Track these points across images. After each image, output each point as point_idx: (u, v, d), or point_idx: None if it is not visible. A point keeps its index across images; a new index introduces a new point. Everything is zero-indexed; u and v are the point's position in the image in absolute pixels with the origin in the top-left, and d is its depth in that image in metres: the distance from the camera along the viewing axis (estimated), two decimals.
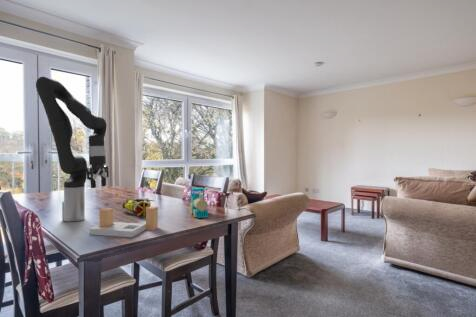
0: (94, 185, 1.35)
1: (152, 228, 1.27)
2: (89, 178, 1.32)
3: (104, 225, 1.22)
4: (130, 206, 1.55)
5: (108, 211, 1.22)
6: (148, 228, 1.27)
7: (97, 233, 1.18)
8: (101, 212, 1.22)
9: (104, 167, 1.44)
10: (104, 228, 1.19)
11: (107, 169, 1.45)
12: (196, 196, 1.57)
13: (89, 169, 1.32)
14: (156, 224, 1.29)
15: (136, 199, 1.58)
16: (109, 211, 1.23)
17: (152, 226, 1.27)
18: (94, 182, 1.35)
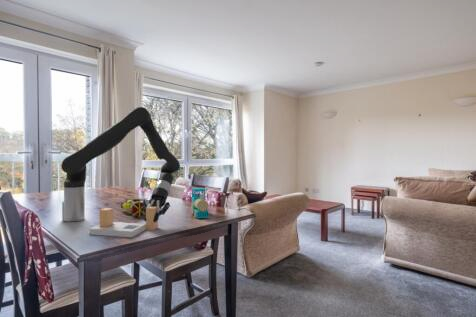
0: None
1: (152, 228, 1.27)
2: (163, 212, 1.30)
3: (104, 225, 1.22)
4: (127, 206, 1.56)
5: (108, 211, 1.22)
6: (148, 228, 1.27)
7: (97, 233, 1.18)
8: (101, 212, 1.22)
9: None
10: (104, 228, 1.19)
11: None
12: (197, 196, 1.57)
13: (168, 205, 1.32)
14: (156, 224, 1.29)
15: (133, 199, 1.59)
16: (109, 211, 1.23)
17: (152, 226, 1.27)
18: None
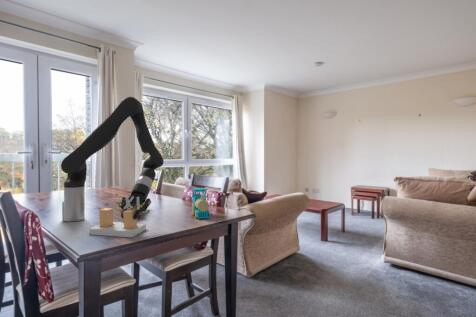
0: None
1: None
2: (144, 209, 1.23)
3: (104, 225, 1.22)
4: None
5: (108, 211, 1.22)
6: None
7: (97, 233, 1.18)
8: (101, 212, 1.22)
9: (128, 199, 1.28)
10: (104, 228, 1.19)
11: None
12: (198, 197, 1.56)
13: (149, 202, 1.25)
14: None
15: None
16: (109, 211, 1.23)
17: None
18: None
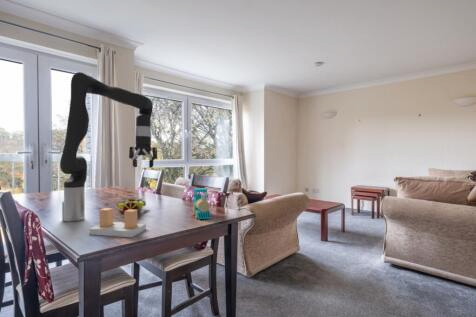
0: None
1: None
2: (156, 157, 1.39)
3: (104, 225, 1.22)
4: (121, 205, 1.57)
5: (108, 211, 1.22)
6: None
7: (97, 233, 1.18)
8: (101, 212, 1.22)
9: None
10: (104, 228, 1.19)
11: None
12: (198, 197, 1.55)
13: (156, 149, 1.39)
14: None
15: (128, 199, 1.59)
16: (109, 211, 1.23)
17: None
18: None
